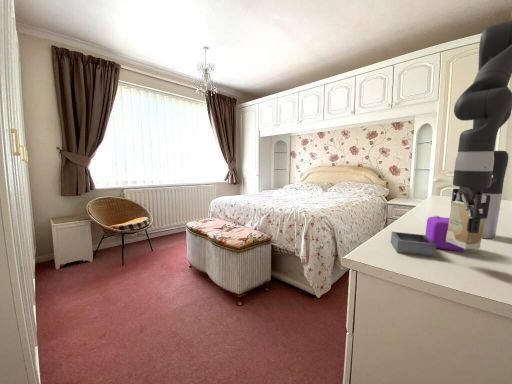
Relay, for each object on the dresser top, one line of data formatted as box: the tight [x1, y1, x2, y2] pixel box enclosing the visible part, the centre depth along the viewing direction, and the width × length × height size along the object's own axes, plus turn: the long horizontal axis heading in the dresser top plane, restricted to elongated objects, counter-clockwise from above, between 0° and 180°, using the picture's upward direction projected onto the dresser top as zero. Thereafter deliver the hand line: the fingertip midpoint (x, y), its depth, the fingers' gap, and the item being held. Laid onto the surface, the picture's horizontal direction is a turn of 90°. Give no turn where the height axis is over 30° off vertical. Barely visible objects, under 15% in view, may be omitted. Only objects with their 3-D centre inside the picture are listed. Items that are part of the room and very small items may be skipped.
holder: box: [390, 231, 437, 258], centre depth 75 cm, size 10×10×4 cm
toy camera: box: [424, 214, 466, 252], centre depth 78 cm, size 11×14×10 cm
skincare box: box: [446, 200, 485, 250], centre depth 64 cm, size 6×4×12 cm
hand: (464, 228), depth 64 cm, fingers closed on skincare box, 7 cm apart
